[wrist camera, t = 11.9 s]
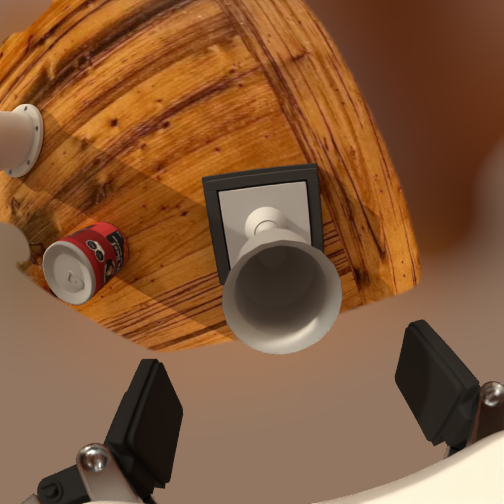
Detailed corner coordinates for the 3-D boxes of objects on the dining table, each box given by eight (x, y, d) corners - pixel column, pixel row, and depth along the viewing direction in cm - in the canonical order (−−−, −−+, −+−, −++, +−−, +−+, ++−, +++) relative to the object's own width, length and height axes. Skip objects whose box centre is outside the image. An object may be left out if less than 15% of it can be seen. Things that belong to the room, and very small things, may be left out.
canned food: (127, 277, 38) (92, 315, 27) (84, 262, 37) (43, 292, 26) (134, 228, 35) (95, 254, 25) (88, 215, 35) (41, 234, 24)
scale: (221, 279, 38) (218, 289, 35) (203, 176, 33) (199, 178, 30) (322, 267, 37) (328, 275, 34) (314, 163, 33) (320, 163, 30)
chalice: (296, 256, 33) (337, 348, 16) (239, 259, 33) (229, 357, 16) (294, 195, 31) (345, 236, 14) (235, 199, 31) (214, 243, 14)
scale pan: (232, 269, 35) (231, 273, 34) (220, 191, 32) (218, 192, 31) (309, 259, 35) (312, 263, 34) (303, 180, 32) (305, 181, 30)
